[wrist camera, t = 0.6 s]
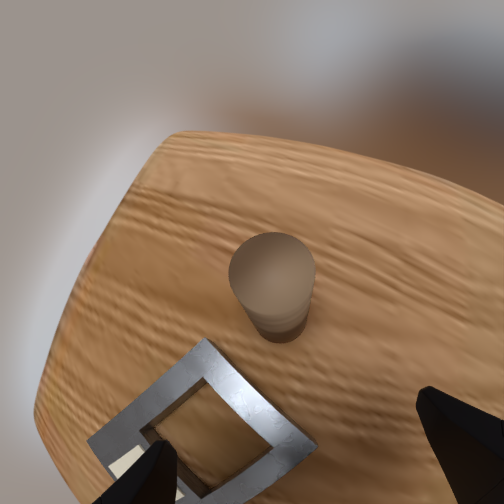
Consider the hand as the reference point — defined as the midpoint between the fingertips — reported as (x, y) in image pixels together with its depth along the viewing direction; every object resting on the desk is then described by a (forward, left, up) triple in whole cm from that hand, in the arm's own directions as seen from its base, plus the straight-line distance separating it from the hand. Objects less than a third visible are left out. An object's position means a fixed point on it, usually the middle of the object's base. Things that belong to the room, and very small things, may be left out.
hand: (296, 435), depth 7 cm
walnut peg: (+6, -5, -13) cm, 15 cm away
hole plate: (+3, +9, -13) cm, 16 cm away
